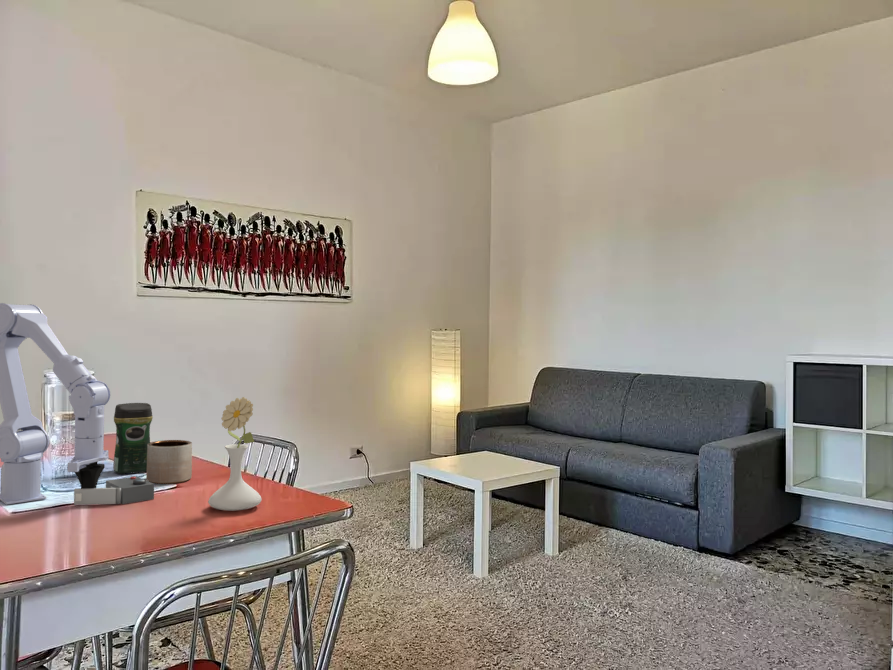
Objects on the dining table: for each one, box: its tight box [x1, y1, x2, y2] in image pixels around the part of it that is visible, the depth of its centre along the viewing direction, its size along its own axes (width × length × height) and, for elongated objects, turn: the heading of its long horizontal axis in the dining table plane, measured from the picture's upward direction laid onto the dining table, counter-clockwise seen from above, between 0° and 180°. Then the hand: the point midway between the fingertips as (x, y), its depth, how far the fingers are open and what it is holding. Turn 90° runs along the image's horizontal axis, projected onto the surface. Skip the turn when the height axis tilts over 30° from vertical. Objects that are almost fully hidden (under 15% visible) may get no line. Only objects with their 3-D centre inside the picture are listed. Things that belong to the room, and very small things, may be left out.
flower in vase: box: [207, 396, 263, 512], centre depth 152 cm, size 13×11×25 cm
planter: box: [146, 439, 193, 485], centre depth 178 cm, size 11×11×10 cm
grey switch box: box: [105, 476, 155, 505], centre depth 160 cm, size 10×7×4 cm
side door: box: [73, 487, 121, 506], centre depth 153 cm, size 10×1×3 cm, turn 101°
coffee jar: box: [112, 402, 154, 475], centre depth 187 cm, size 10×8×19 cm
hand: (88, 497), depth 153 cm, fingers closed, pressing on side door
